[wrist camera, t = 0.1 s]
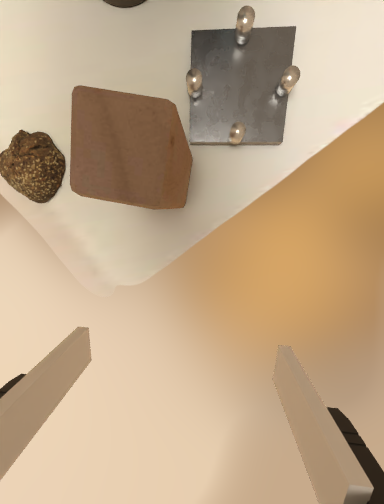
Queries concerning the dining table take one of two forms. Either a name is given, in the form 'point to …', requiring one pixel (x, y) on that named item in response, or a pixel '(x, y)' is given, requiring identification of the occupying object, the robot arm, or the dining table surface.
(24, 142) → the brown rounded lump
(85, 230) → the dining table surface
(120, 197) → the wooden block
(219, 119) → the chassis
